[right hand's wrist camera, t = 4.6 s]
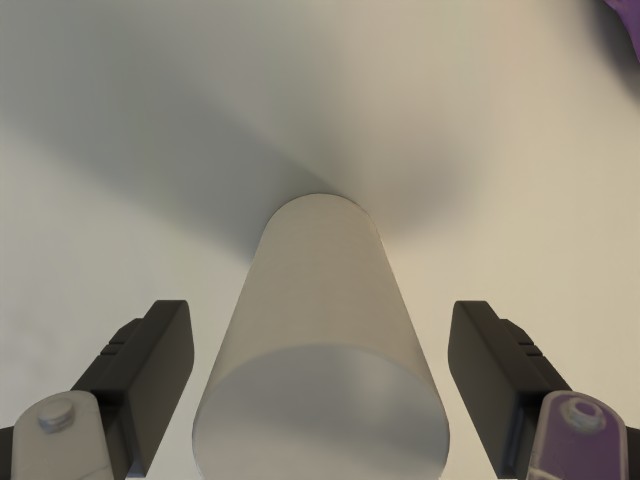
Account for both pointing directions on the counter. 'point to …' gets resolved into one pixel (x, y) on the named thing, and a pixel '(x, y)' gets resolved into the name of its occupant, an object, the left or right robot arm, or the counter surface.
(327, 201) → the canister
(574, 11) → the counter surface
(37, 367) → the counter surface
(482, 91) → the counter surface
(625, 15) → the figurine
